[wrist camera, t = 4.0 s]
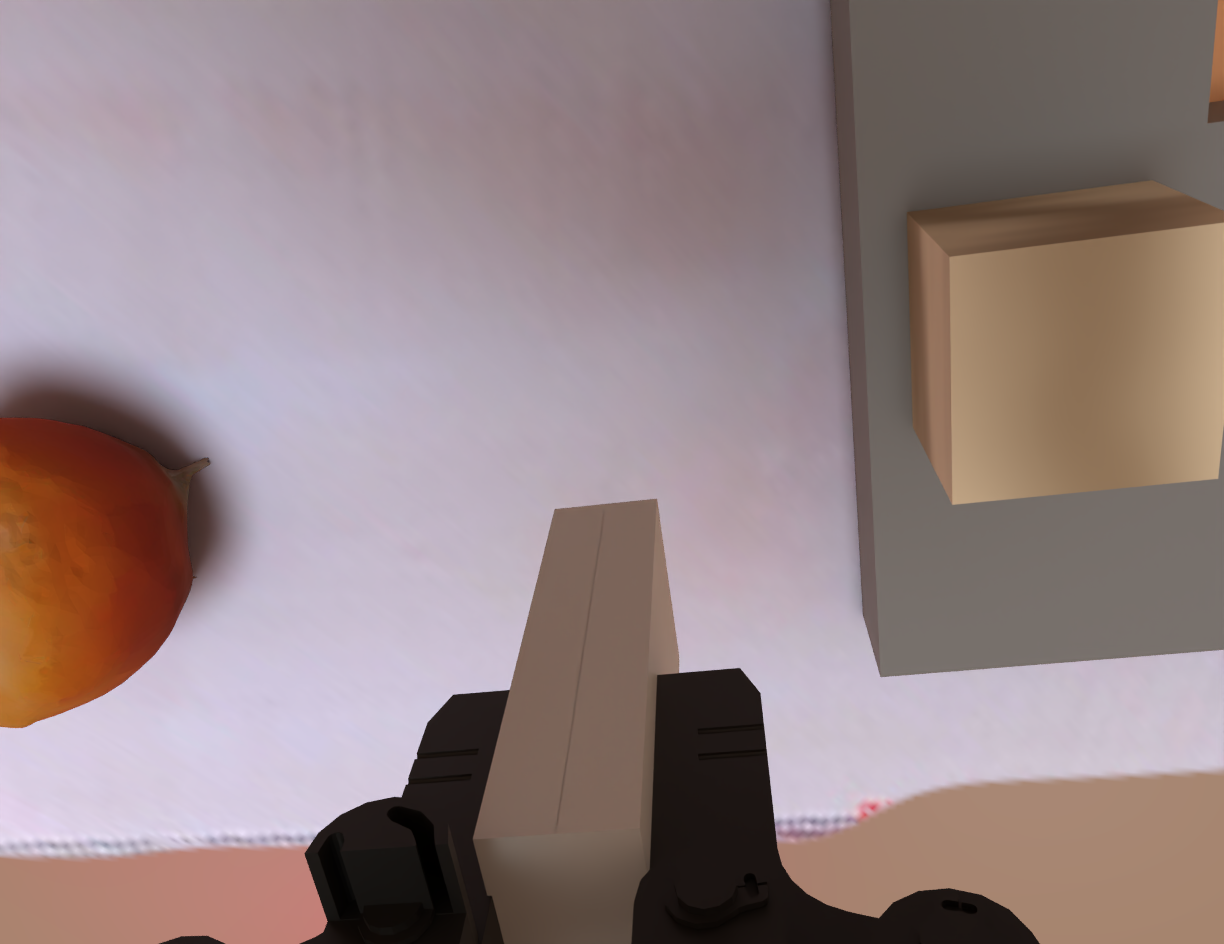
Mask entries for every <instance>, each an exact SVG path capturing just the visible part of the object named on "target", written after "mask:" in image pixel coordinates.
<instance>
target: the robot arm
mask: <svg viewBox="0 0 1224 944" xmlns="http://www.w3.org/2000/svg"><path fill="white" fill-rule="evenodd" d="M408 780H409V783H408V785H406V786H405V789H404V792H403V795H402V797H391V798H387V799H382V800H377V801H372V802H367V803H365V804H363V805H361V806H359V807H356V808H354V809H352V810H350V811H348V812H346V813H344V814H342V815H340V816H339V817H337V818H336V819H335V820H334V821H333V822H331V823H330V824H329V825H328V826H326V827H325V828H324V829H323V830H321V831H320V832H319V833H318V834H317V836H316V837H315V839H314V840H313V842H312V843H311V845H310V846H309V848H308V849H307V851H306V852H305V857H306V859H307V863H308V865H309V868H310V871H311V874H312V877H313V880H314V883H315V886H316V889H317V891H318V894H319V897H320V900H321V903H322V906H323V909H324V912H325V915H326V918H327V921H328V922H327V925H326V928H325V930H324V932H323V933H321V934H320V935H318V936H316V937H315V938H312V939H310V940H307V941H305V942H303V943H300V944H1039V942H1038V941H1037V939H1036V938H1035V936H1034V935H1033V933H1032V932H1031V931H1030V930H1029V929H1028V928H1027V927H1026V926H1025V925H1024V924H1023V923H1022V922H1021V921H1020V920H1019V919H1018V918H1017V917H1016V916H1015V915H1014V914H1013V913H1012V912H1011V911H1010V910H1009V909H1007V908H1005V907H1003V906H1001V905H999V904H997V903H995V902H994V901H992V900H990V899H988V898H986V897H984V896H982V895H979V894H974V893H969V892H964V891H959V890H955V889H950V888H948V889H938V890H925V891H918V892H916V893H913V894H911V895H909V896H907V897H904V898H902V899H900V900H898V901H896V902H893V904H891V906H890V907H889V908H888V909H887V910H886V911H885V912H884V913H883V914H882V916H881V917H880V918H874V917H870V916H865V915H860V914H856V913H852V912H848V911H844V910H841V909H838V908H835V907H832V906H829V905H826V904H824V903H822V902H821V901H819V900H817V899H815V898H813V897H811V896H810V895H808V894H806V893H805V892H804V891H803V890H802V889H801V888H800V887H799V886H797V885H796V884H795V883H794V882H793V881H792V880H791V878H790V877H789V875H788V873H787V872H786V870H785V869H784V867H783V866H782V863H781V860H780V856H779V853H778V849H777V840H776V831H775V822H774V813H773V804H772V795H771V786H770V776H769V767H768V758H767V749H766V740H765V731H764V722H763V713H762V704H761V695H760V692H759V691H758V690H757V688H756V687H755V686H754V685H753V683H752V682H751V681H750V680H749V679H748V677H747V676H746V675H745V674H744V672H743V671H742V670H741V669H740V668H735V669H723V670H711V671H699V672H687V673H679V652H678V645H677V638H676V631H675V624H674V617H673V610H672V603H671V595H670V588H669V581H668V574H667V567H666V560H665V553H664V546H663V539H662V532H661V524H660V517H659V510H658V503H657V499H650V500H640V501H630V502H621V503H611V504H601V505H592V506H582V507H572V508H562V509H555V510H554V514H553V518H552V522H551V527H550V531H549V535H548V539H547V543H546V547H545V551H544V555H543V559H542V563H541V567H540V571H539V575H538V579H537V583H536V587H535V591H534V595H533V599H532V603H531V607H530V611H529V615H528V619H527V623H526V627H525V631H524V635H523V639H522V643H521V647H520V651H519V655H518V659H517V663H516V667H515V671H514V675H513V679H512V683H511V687H510V690H505V691H493V692H481V693H469V694H457V695H453V696H452V697H451V698H450V699H449V700H448V701H447V702H446V703H445V704H444V705H443V707H442V708H441V709H440V710H439V711H438V712H437V713H436V714H435V715H434V716H433V717H432V719H431V720H430V721H429V722H428V723H427V726H426V729H425V732H424V735H423V738H422V740H421V743H420V746H419V749H418V752H417V759H415V760H414V763H413V766H412V769H411V772H410V775H409V778H408ZM160 944H225V943H223V942H220V941H218V940H216V939H213V938H211V937H209V936H185V937H184V936H181V937H179V938H175V939H172V940H169V941H166V942H163V943H160Z"/></svg>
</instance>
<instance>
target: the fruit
mask: <svg viewBox="0 0 1224 944" xmlns="http://www.w3.org/2000/svg"><path fill="white" fill-rule="evenodd" d="M208 459H209V458H204V459H202V460H200V461H198V462H194V463H193V464H191V465H190V466H185V467H183V468H181V469H180V470H170V469H167V468H165V467H163V466H161V465H160V464H159V463H158V462H157V461H156V459H155V458H154V457H153V456H152V455H151V454H149V453H148V452H147V451H145V450H143V449H141V448H139V447H136V446H134V445H132V444H129V443H127V442H125V441H122V440H120V439H117V438H115V437H113V436H110V435H107V434H105V433H102V432H100V431H96V430H93V429H90V428H88V427H85V426H80V425H75V424H69V423H64V422H59V421H55V420H48V419H40V418H0V727H8V728H23V727H27V726H29V725H31V724H33V723H34V722H37V721H40V720H43V719H46V718H49V717H52V716H55V715H58V714H61V713H63V712H66V711H68V710H71V709H73V708H75V707H78V706H80V705H83V704H85V703H88V702H90V701H92V700H94V699H96V698H98V697H100V696H103V695H104V694H106V693H108V692H109V691H111V690H112V689H114V688H116V687H117V686H119V685H120V684H122V683H123V682H124V681H126V680H127V679H128V678H129V677H130V676H132V675H133V674H134V673H135V672H136V671H138V670H139V669H140V668H141V667H142V666H143V665H144V664H145V663H146V662H147V661H148V660H150V659H151V658H152V657H153V656H154V655H155V654H156V652H157V651H158V650H159V648H160V647H161V646H162V644H163V643H164V642H165V640H166V639H167V638H168V636H169V635H170V633H171V631H172V629H173V627H174V625H175V623H176V621H177V618H178V616H179V614H180V612H181V610H182V608H183V606H184V603H185V601H186V599H187V597H188V595H189V592H190V589H191V586H192V581H193V579H194V578H196V577H195V576H193V570H192V565H191V560H190V555H189V549H188V531H187V502H188V496H189V485H190V481H191V477H192V475H193V474H195V473H197V472H198V471H200V470H201V469H203V468H204V467H206V466H208V465H210V463H208V462H207V460H208Z"/></svg>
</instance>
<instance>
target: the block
mask: <svg viewBox="0 0 1224 944" xmlns="http://www.w3.org/2000/svg"><path fill="white" fill-rule="evenodd" d="M907 239H908V274H909V310H910V346H911V381H912V417H913V429H914V431H915V433H916V435H917V436H918V438H919V440H920V442H921V444H922V446H923V448H924V450H925V452H926V454H927V456H928V458H929V460H930V462H931V464H932V466H933V468H934V470H935V472H936V474H937V476H938V478H939V480H940V482H941V484H942V485H943V487H944V489H945V491H946V493H947V495H948V497H949V499H950V501H951V503H952V505H956V504H966V503H976V502H986V501H996V500H1007V499H1017V498H1027V497H1037V496H1047V495H1058V494H1068V493H1078V492H1088V491H1098V490H1109V489H1119V488H1129V487H1139V486H1149V485H1160V484H1170V483H1180V482H1190V481H1201V480H1211V479H1218V475H1219V466H1220V456H1221V447H1222V437H1223V427H1224V211H1223V210H1221V209H1218V208H1216V207H1214V206H1211V205H1209V204H1207V203H1204V202H1202V201H1200V200H1197V199H1195V198H1193V197H1190V196H1188V195H1186V194H1183V193H1181V192H1179V191H1176V190H1174V189H1172V188H1169V187H1167V186H1165V185H1162V184H1160V183H1158V182H1155V181H1153V180H1150V181H1142V182H1135V183H1127V184H1119V185H1112V186H1104V187H1096V188H1089V189H1081V190H1073V191H1066V192H1058V193H1050V194H1043V195H1035V196H1027V197H1020V198H1012V199H1004V200H997V201H989V202H981V203H974V204H966V205H958V206H951V207H943V208H935V209H928V210H920V211H912V212H907Z"/></svg>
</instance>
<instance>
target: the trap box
mask: <svg viewBox="0 0 1224 944" xmlns="http://www.w3.org/2000/svg"><path fill="white" fill-rule="evenodd" d="M830 8H831V27H832V46H833V64H834V83H835V102H836V120H837V139H838V158H839V176H840V195H841V214H842V232H843V251H844V269H845V288H846V307H847V325H848V344H849V363H850V381H851V400H852V419H853V437H854V456H855V475H856V493H857V512H858V531H859V549H860V568H861V586H862V605H863V616H864V620H865V623H866V627H867V630H868V634H869V638H870V641H871V645H872V648H873V652H874V655H875V659H876V662H877V666H878V670H879V673H880V677H888V676H900V675H913V674H926V673H938V672H951V671H963V670H976V669H988V668H1001V667H1013V666H1026V665H1038V664H1051V663H1063V662H1076V661H1088V660H1101V659H1113V658H1126V657H1138V656H1151V655H1163V654H1176V653H1188V652H1201V651H1213V650H1224V427H1223V437H1222V447H1221V456H1220V466H1219V475H1218V479H1211V480H1201V481H1190V482H1180V483H1170V484H1160V485H1149V486H1139V487H1129V488H1119V489H1109V490H1098V491H1088V492H1078V493H1068V494H1058V495H1047V496H1037V497H1027V498H1017V499H1007V500H996V501H986V502H976V503H966V504H956V505H952V503H951V501H950V499H949V497H948V495H947V493H946V491H945V489H944V487H943V485H942V484H941V482H940V480H939V478H938V476H937V474H936V472H935V470H934V468H933V466H932V464H931V462H930V460H929V458H928V456H927V454H926V452H925V450H924V448H923V446H922V444H921V442H920V440H919V438H918V436H917V435H916V433H915V431H914V429H913V417H912V381H911V346H910V310H909V274H908V239H907V212H912V211H920V210H928V209H935V208H943V207H951V206H958V205H966V204H974V203H981V202H989V201H997V200H1004V199H1012V198H1020V197H1027V196H1035V195H1043V194H1050V193H1058V192H1066V191H1073V190H1081V189H1089V188H1096V187H1104V186H1112V185H1119V184H1127V183H1135V182H1142V181H1150V180H1153V181H1155V182H1158V183H1160V184H1162V185H1165V186H1167V187H1169V188H1172V189H1174V190H1176V191H1179V192H1181V193H1183V194H1186V195H1188V196H1190V197H1193V198H1195V199H1197V200H1200V201H1202V202H1204V203H1207V204H1209V205H1211V206H1214V207H1216V208H1218V209H1221V210H1223V211H1224V0H830Z"/></svg>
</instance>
